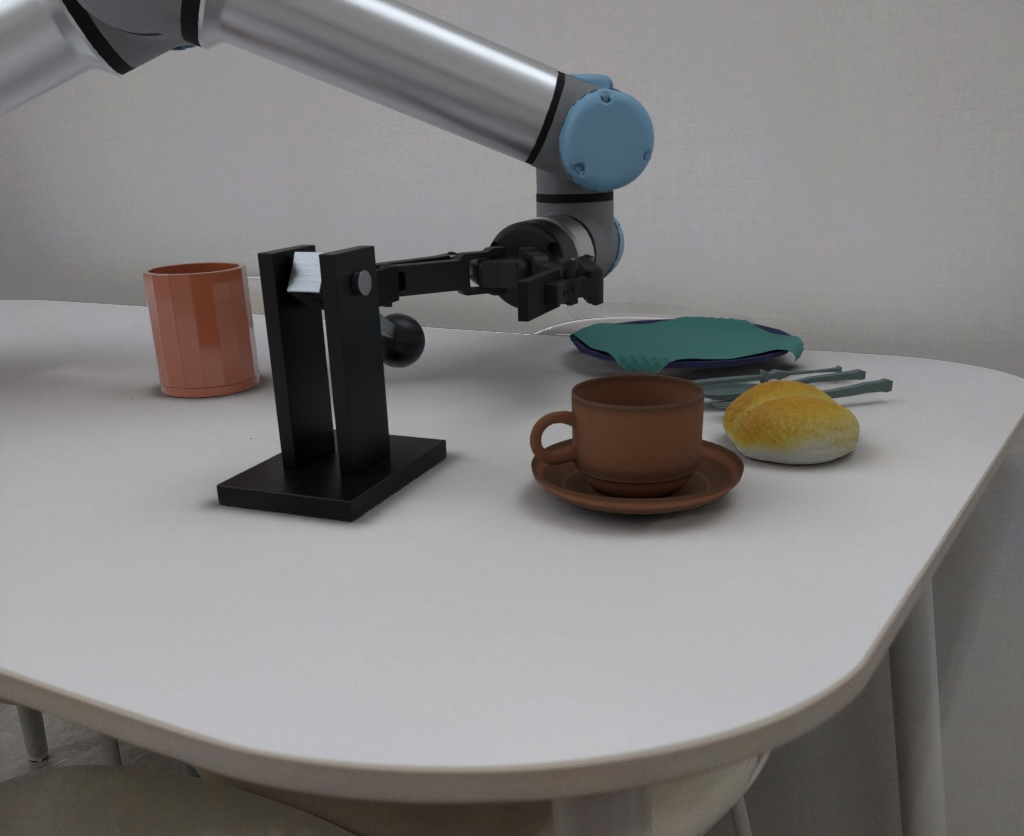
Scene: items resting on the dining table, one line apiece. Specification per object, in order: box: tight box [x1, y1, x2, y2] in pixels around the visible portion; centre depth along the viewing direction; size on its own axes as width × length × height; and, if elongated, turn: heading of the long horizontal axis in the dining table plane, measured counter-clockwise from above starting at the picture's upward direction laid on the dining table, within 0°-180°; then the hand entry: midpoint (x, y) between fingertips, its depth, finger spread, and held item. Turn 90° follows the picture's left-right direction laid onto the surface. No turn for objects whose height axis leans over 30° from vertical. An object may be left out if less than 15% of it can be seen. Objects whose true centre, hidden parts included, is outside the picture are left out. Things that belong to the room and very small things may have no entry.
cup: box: [141, 261, 260, 399], centre depth 82 cm, size 8×8×10 cm
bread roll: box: [722, 379, 861, 465], centre depth 63 cm, size 8×9×4 cm
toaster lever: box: [287, 251, 426, 369], centre depth 60 cm, size 13×4×4 cm
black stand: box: [215, 244, 448, 522], centre depth 57 cm, size 12×9×14 cm
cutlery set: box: [569, 315, 894, 411], centre depth 83 cm, size 20×30×2 cm, turn 16°
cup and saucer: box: [529, 373, 745, 515], centre depth 55 cm, size 12×12×6 cm
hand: (433, 298), depth 69 cm, fingers open, 13 cm apart
